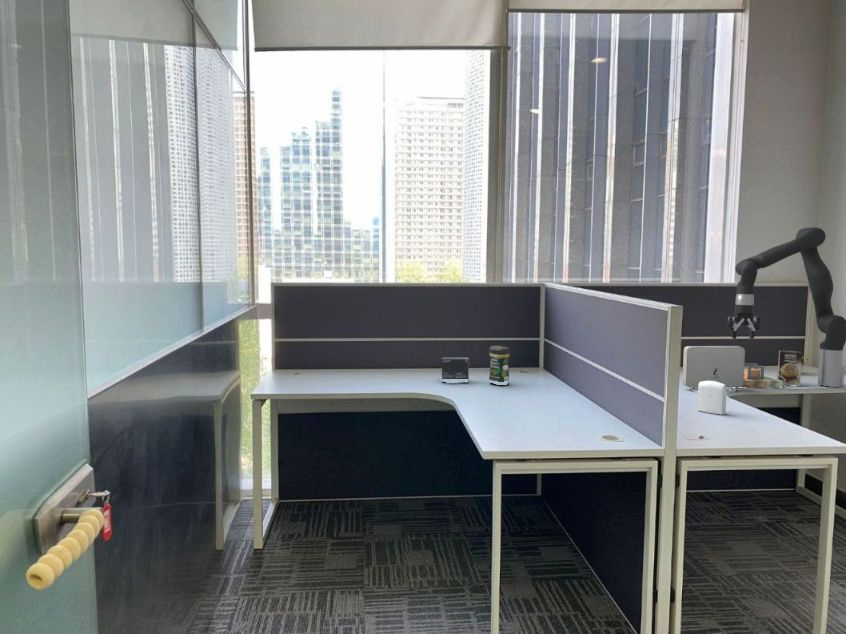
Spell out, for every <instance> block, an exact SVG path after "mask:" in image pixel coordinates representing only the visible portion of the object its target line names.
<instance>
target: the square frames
mask: <svg viewBox="0 0 846 634" xmlns="http://www.w3.org/2000/svg"><path fill="white" fill-rule="evenodd" d="M744 366H746V367H747V369H748V376H747V379H750V380H764V375H765V366H764V365H758V363H754V362H753V363H746V362H744ZM751 369H757V370H758V369H760V375H761V377H751Z"/></svg>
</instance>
